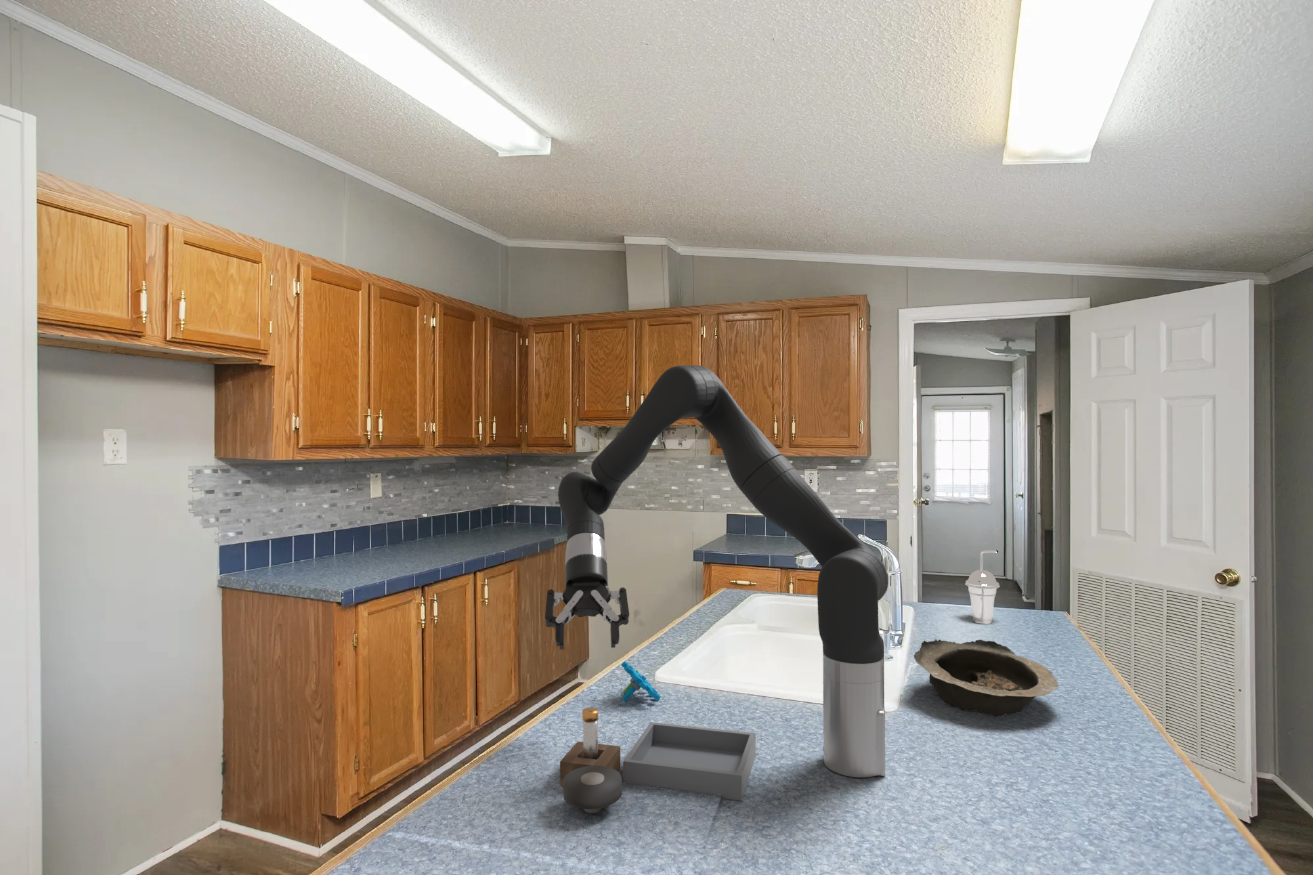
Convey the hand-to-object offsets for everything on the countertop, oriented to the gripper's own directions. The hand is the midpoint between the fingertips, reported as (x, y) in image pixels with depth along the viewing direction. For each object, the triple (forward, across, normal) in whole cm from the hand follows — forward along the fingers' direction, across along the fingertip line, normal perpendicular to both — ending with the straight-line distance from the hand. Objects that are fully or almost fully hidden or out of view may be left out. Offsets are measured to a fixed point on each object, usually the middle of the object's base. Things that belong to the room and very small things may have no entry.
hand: (587, 646), depth 120 cm
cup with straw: (-32, +106, +55) cm, 124 cm away
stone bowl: (+5, +76, +18) cm, 78 cm away
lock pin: (+20, 0, +3) cm, 20 cm away
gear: (-2, +10, +26) cm, 28 cm away
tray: (+19, +16, +4) cm, 25 cm away
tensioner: (+23, 0, 0) cm, 23 cm away
